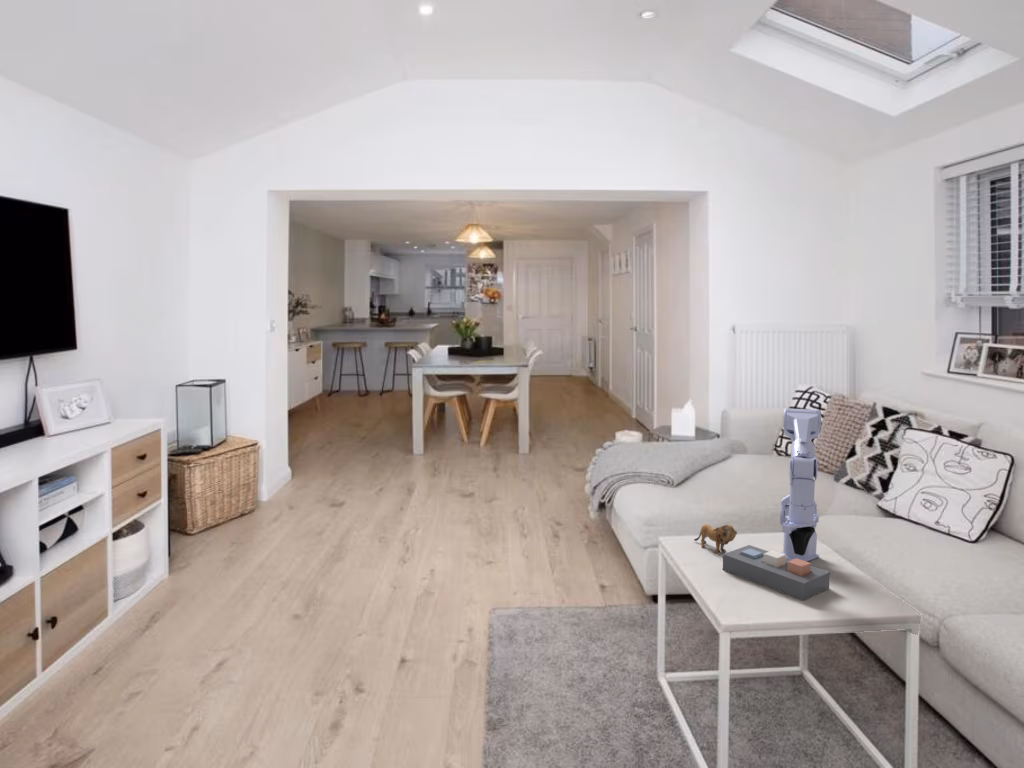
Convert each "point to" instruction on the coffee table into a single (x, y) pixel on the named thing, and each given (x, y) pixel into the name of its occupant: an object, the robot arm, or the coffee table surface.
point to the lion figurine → (717, 535)
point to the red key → (799, 567)
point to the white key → (774, 559)
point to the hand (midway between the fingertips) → (799, 554)
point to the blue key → (751, 553)
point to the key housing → (776, 574)
